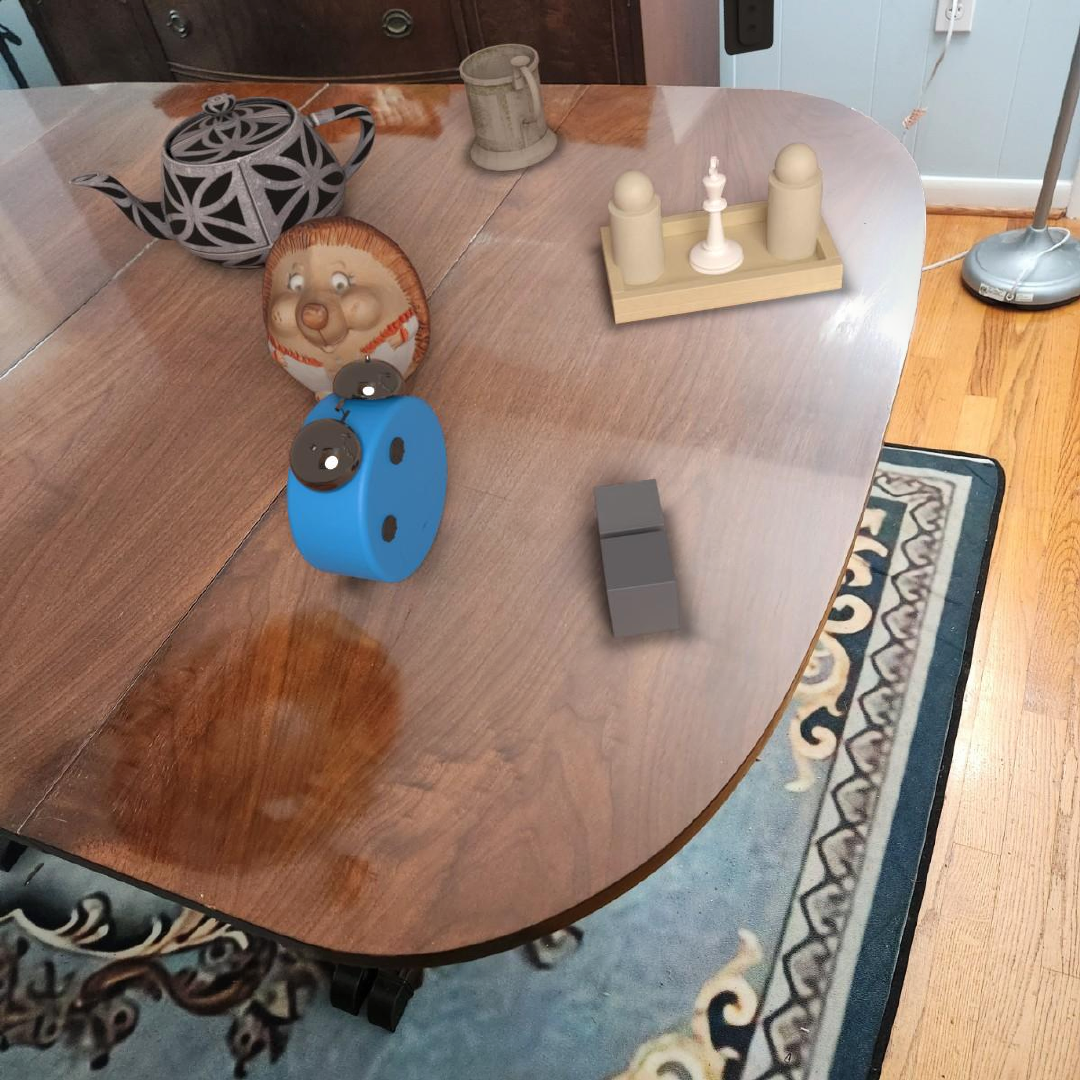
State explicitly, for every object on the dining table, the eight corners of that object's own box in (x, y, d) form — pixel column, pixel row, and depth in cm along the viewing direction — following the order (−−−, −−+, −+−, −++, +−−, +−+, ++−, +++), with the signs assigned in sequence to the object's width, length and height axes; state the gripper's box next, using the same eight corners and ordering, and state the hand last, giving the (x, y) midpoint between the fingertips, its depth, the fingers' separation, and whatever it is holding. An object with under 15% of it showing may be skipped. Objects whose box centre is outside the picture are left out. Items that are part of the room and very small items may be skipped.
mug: (458, 145, 116) (434, 39, 107) (534, 117, 118) (517, 10, 109) (508, 198, 107) (486, 86, 98) (590, 166, 108) (576, 54, 100)
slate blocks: (659, 520, 74) (655, 470, 70) (679, 629, 67) (675, 581, 63) (600, 528, 74) (592, 479, 70) (614, 638, 67) (606, 590, 64)
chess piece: (682, 273, 92) (677, 171, 84) (696, 242, 94) (692, 141, 87) (736, 277, 90) (736, 174, 82) (748, 245, 93) (749, 143, 85)
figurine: (272, 448, 86) (202, 302, 74) (297, 334, 96) (239, 191, 85) (438, 427, 84) (391, 275, 73) (444, 313, 95) (405, 165, 84)
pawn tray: (809, 216, 96) (816, 106, 88) (841, 288, 88) (851, 175, 80) (602, 249, 98) (590, 145, 90) (615, 324, 90) (603, 216, 82)
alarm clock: (395, 480, 81) (339, 330, 70) (465, 490, 79) (419, 336, 68) (324, 609, 73) (248, 462, 62) (401, 622, 71) (337, 474, 60)
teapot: (115, 242, 113) (47, 113, 102) (372, 156, 117) (333, 23, 106) (132, 331, 101) (57, 195, 90) (419, 231, 105) (381, 90, 94)
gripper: (832, -266, 53) (817, 64, 65) (767, -321, 64) (765, -32, 77) (689, -236, 53) (701, 84, 66) (650, -296, 65) (667, -14, 77)
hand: (736, 21), depth 71 cm, fingers open, 9 cm apart
